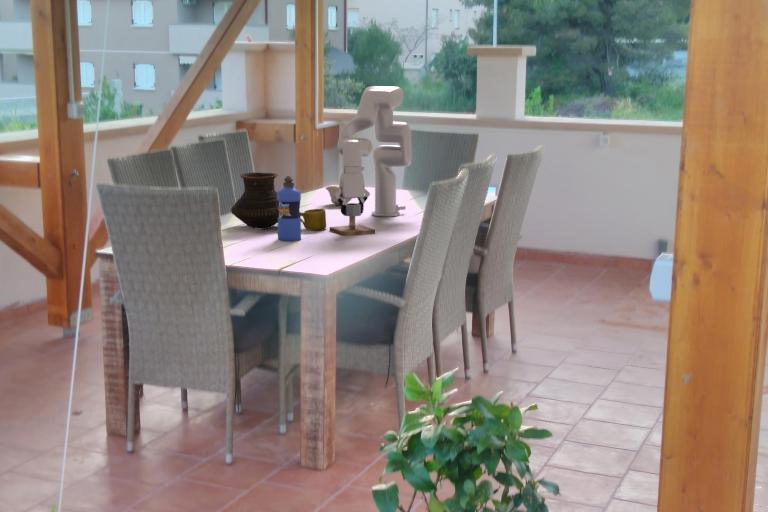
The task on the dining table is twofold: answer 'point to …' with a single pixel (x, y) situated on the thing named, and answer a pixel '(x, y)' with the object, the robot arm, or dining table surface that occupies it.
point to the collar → (353, 209)
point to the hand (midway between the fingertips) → (352, 213)
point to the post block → (352, 228)
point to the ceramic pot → (257, 201)
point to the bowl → (332, 192)
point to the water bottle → (289, 212)
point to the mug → (314, 219)
